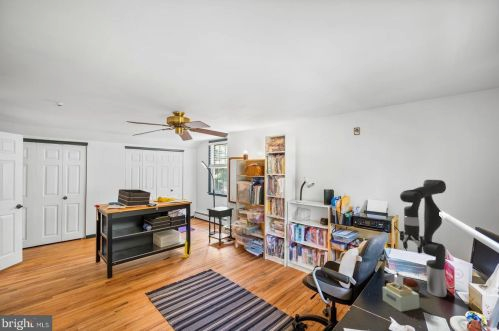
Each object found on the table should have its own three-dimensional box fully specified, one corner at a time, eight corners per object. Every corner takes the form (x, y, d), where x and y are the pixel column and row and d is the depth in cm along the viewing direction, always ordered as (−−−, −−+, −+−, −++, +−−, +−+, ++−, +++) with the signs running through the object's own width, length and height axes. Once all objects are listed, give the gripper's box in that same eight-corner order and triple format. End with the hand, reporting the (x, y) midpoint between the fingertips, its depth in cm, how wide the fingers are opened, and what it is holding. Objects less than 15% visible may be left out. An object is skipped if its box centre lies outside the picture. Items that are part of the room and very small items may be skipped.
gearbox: (396, 294, 141) (395, 278, 142) (419, 307, 127) (418, 289, 127) (378, 297, 138) (378, 280, 138) (400, 311, 123) (399, 292, 124)
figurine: (380, 276, 150) (401, 270, 156) (380, 288, 150) (401, 282, 156) (400, 287, 136) (423, 281, 142) (401, 301, 136) (423, 294, 142)
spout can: (398, 287, 134) (398, 270, 134) (404, 291, 130) (404, 274, 130) (392, 289, 133) (392, 271, 133) (399, 292, 128) (399, 274, 129)
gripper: (428, 226, 126) (429, 254, 125) (405, 221, 140) (406, 246, 139) (418, 226, 124) (419, 255, 124) (396, 221, 138) (396, 247, 137)
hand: (412, 250), depth 131 cm, fingers open, 8 cm apart
